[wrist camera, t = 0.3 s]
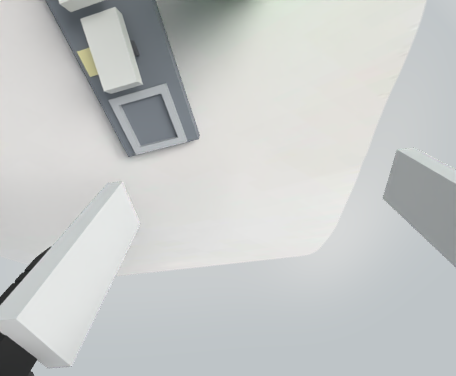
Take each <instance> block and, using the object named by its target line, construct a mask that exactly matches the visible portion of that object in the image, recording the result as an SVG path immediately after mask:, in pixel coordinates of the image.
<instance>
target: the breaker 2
mask: <svg viewBox="0 0 456 376" xmlns="http://www.w3.org/2000/svg"><path fill="white" fill-rule="evenodd" d="M80 20H81V23H82V26H83V29H84V32H85V35H86V38H87V42H88V45H89V48H90V51H91V54H92V57H93V60H94V63H95V66H96V69H97V72H98V75H99V78H100V81H101V84H102V87H103V90H104V92H107V93H110V94H112V93H116V92H119V91H123V90H126V89H129V88H133V87H136V86H139V85H143V83H142V79H141V76H140V73H139V69H138V66H137V63H136V59H135V56H134V52H133V49H132V46H131V42H130V39H129V35H128V32H127V29H126V25H125V22H124V19H123V15H122V13H121V12H120V11H119V10H118V9H117V8H116V7H113V8H110V9H107V10H104V11H102V12H99V13H96V14H93V15H90V16H87V17H84V18H81V19H80Z"/></svg>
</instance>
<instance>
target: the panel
mask: <svg viewBox="0 0 456 376" xmlns="http://www.w3.org/2000/svg"><path fill="white" fill-rule="evenodd" d="M46 2H47V4H48V6H49V8H50V10H51V11H52V13H53V15H54V17H55V19H56V21H57V23H58V25H59V27H60V28H61V30H62V32H63V34H64V36H65V38H66V40H67V42H68V44H69V45H70V47H71V49H72V51H73V53H74V55H75V57H76V59H77V61H78V62H79V64H80V66H81V68H82V70H83V72H84V74H85V76H86V77H87V79H88V81H89V83H90V85H91V87H92V89H93V91H94V93H95V94H96V96H97V98H98V100H99V102H100V104H101V106H102V108H103V110H104V111H105V113H106V115H107V117H108V119H109V121H110V123H111V125H112V126H113V128H114V130H115V132H116V134H117V136H118V138H119V140H120V142H121V143H122V145H123V147H124V149H125V151H126V153H127V155H128V157H130V156H134V155H138V154H142V153H146V152H150V151H154V150H158V149H162V148H166V147H169V146H173V145H177V144H181V143H185V142H189V141H193V140H197V139H199V136H200V135H199V132H198V128H197V125H196V122H195V119H194V116H193V113H192V110H191V107H190V104H189V101H188V98H187V95H186V92H185V89H184V86H183V83H182V80H181V77H180V74H179V71H178V68H177V65H176V62H175V59H174V56H173V53H172V50H171V47H170V44H169V41H168V38H167V35H166V32H165V29H164V26H163V23H162V20H161V16H160V13H159V10H158V7H157V4H156V1H155V0H104V1H101V2H98V3H96V4H93V5H90V6H87V7H84V8H81V9H78V10H76V11H73V12H70V11H68V10H67V9H66V8H64V7H63V6H62V5H60V4H59V1H58V0H46ZM113 7H116V8H117V9H118V10H119V11H120V12H121V13H122V15H123V19H124V22H125V25H126V29H127V32H128V35H129V39H130V42H131V46H132V49H133V52H134V56H135V59H136V63H137V66H138V69H139V73H140V76H141V79H142V83H143V85H139V86H136V87H133V88H129V89H126V90H123V91H119V92H116V93H112V94H110V93H107V92H104V90H103V87H102V84H101V81H100V78H99V75H98V72H97V69H96V66H95V63H94V60H93V57H92V54H91V51H90V48H89V45H88V42H87V38H86V35H85V32H84V29H83V26H82V23H81V20H80V19H81V18H84V17H87V16H90V15H93V14H96V13H99V12H102V11H104V10H107V9H110V8H113Z"/></svg>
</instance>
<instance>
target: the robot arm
mask: <svg viewBox="0 0 456 376" xmlns="http://www.w3.org/2000/svg"><path fill="white" fill-rule="evenodd" d="M383 199H384V200H385V201H386V202H387V203H388V204H389V205H390V206H391V207H392V208H393V209H394V210H396V211H397V212H398V213H399V214H400V215H401V216H402V217H403V218H404V219H405V220H406V221H407V222H408V223H409V224H411V226H412V227H413V228H415V229H416V230H417V231H418V232H419V233H420V234H421V235H422V236H423V237H424V238H425V239H426V240H427V241H428V242H429V243H430V244H431V245H432V246H434V247H435V248H436V249H437V250H438V251H439V252H440V253H441V254H442V255H443V256H444V257H445V258H446V259H447V260H448V261H449V262H450V263H451V264H453V265H454V266H455V267H456V169H454V168H453V167H450V166H449V165H447V164H445V163H443V162H441V161H439V160H437V159H435V158H433V157H431V156H430V155H428V154H426V153H424V152H422V151H420V150H418V149H416V148H405V149H398V150H397V151H396V155H395V158H394V161H393V165H392V168H391V172H390V175H389V179H388V182H387V185H386V188H385V192H384V195H383ZM140 224H141V223H140V220H139V218H138V216H137V214H136V211H135V209H134V207H133V204H132V202H131V200H130V197H129V195H128V193H127V190H126V188H125V186H124V183H123V181H121V182H112V183H107V184H106V185H105V187H104V188H103V189H102V190H101V191H100V192H99V193H98V195H97V196H96V197H95V198H94V199H93V200H92V201H91V203H90V204H89V205H88V206H87V207H86V208H85V209H84V211H83V212H82V213H81V214H80V215H79V216H78V217H77V218H76V220H75V221H74V222H73V223H72V224H71V225H70V226H69V228H68V229H67V230H66V231H65V232H64V233H63V234H62V236H61V237H60V238H59V239H58V240H57V241H56V242H55V244H54V245H53V246H52V247H49V248H48V249H47V250H45V251H44V252H43V253H41V254H40V255H39V256H37V257H36V258H35V259H34V260H33V261H32V262H31V264H30V265H29V266H28V267H27V268H26V269H25V272H24V273H22V274H21V275H20V276H19V277H18V278H17V279H16V280H15V283H13V284H12V285H11V286H10V287H9V288H8V289H7V290H6V291H5V292H4V293H3V294H2V295H1V297H0V376H34V374H33V372H31V369H32V367H33V366H34V364H35V362H36V361H37V360H38V361H39V362H40V363H42V364H43V365H44V366H45V367H47V368H60V367H72V365H73V363H74V361H75V359H76V357H77V355H78V353H79V350H80V348H81V346H82V344H83V342H84V340H85V338H86V336H87V334H88V332H89V330H90V328H91V326H92V324H93V321H94V319H95V317H96V315H97V313H98V311H99V309H100V307H101V305H102V303H103V301H104V299H105V296H106V294H107V292H108V290H109V288H110V286H111V284H112V282H113V280H114V278H115V276H116V274H117V272H118V270H119V268H120V266H121V264H122V261H123V259H124V257H125V255H126V253H127V251H128V249H129V247H130V245H131V243H132V241H133V239H134V237H135V235H136V232H137V230H138V228H139V226H140Z"/></svg>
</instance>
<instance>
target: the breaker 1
mask: <svg viewBox="0 0 456 376" xmlns="http://www.w3.org/2000/svg"><path fill="white" fill-rule="evenodd" d="M58 1H59V4H60V5H62V6H63V7H64V8H66V9H67V10H68V11H70V12H73V11H76V10H78V9H81V8H84V7H87V6H90V5H93V4H96V3H98V2H101V1H104V0H58Z"/></svg>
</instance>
